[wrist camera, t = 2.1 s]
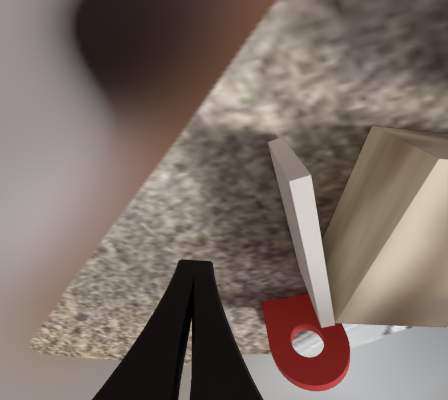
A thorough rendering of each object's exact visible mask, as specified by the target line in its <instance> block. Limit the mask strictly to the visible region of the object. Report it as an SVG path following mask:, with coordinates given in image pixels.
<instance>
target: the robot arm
mask: <svg viewBox="0 0 448 400" xmlns="http://www.w3.org/2000/svg"><path fill="white" fill-rule="evenodd" d="M191 319H192V379H191V392H190V400H263V398H262V396H261V394H260V393H259V391H258V389H257V387H256V385H255V383H254V381H253V379H252V377H251V375H250V373H249V371H248V368H247V366H246V364H245V362H244V360H243V358H242V355H241V353H240V351H239V349H238V346H237V344H236V341H235V339H234V337H233V334H232V331H231V329H230V326H229V324H228V321H227V318H226V315H225V312H224V309H223V306H222V303H221V300H220V296H219V293H218V289H217V285H216V281H215V276H214V270H213V263H212V262H211V261H197V260H180V261H179V262H178V265H177V268H176V270H175V273H174V275H173V277H172V279H171V282H170V284H169V286H168V288H167V290H166V292H165V293H164V295H163V297H162V299H161V301H160V303H159V304H158V306H157V308H156V310H155V311H154V313H153V315H152V316H151V318H150V319H149V321H148V323H147V324H146V326H145V328H144V329H143V331H142V332H141V334H140V335H139V337H138V338H137V340H136V341H135V343H134V344H133V346H132V347H131V349H130V350H129V351H128V353H127V354H126V356H125V357H124V359H123V360H122V361H121V363H120V364H119V365H118V367H117V368H116V369H115V371H114V372H113V373H112V375H111V376H110V377H109V379H108V380H107V381H106V383H105V384H104V385H103V386H102V388H101V389H100V390H99V392H98V393H97V394H96V395H95V397H94V398H93V399H92V400H178V397H179V389H180V381H181V375H182V370H183V364H184V358H185V353H186V347H187V342H188V336H189V330H190V325H191Z"/></svg>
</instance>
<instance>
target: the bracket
mask: <svg viewBox="0 0 448 400" xmlns="http://www.w3.org/2000/svg"><path fill="white" fill-rule="evenodd" d="M262 306H263V311H264V317H265V323H266V329H267V334H268V340H269V346H270V350H271V353H272V356H273V359H274V361H275V363H276V365H277V367H278V369H279V370H280V372H281V373H282V374H283V375H284V377H286V378H287V379H288V380H289V381H290V382H291V383H293V384H294V385H296V386H298V387H300V388H302V389H306V390H310V391H324V390H328V389H330V388H333V387H334V386H336V385H337V384H339V383H340V382H341V381H342V379H343V378H344V377H345V375H346V373H347V371H348V368H349V363H350V346H349V341H348V337H347V335H346V332H345V330H344V328H343V326H342V323H335V325H334V326H329V327H324V328H321V325H320V323H319V320H318V317H317V315H316V312H315V309H314V307H313V304H312V301H311V299H310V296H309V293H307V294H302V295H297V296H292V297H287V298H282V299H277V300H271V301H266V302H262ZM302 330H310V331H313V332H315V333H317V334H318V335H319V336H320V337H321V338H322V340H323V342H324V348H323V350H322V352H321V353H320V354H319V355H318V356H316V357H312V358H308V357H304V356H301V355H300V354H298V353H297V352H296V351H295V350H294V348H293V347H292V340H293V337H294V336H295V334H296V333H298V332H299V331H302Z"/></svg>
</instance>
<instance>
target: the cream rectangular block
mask: <svg viewBox="0 0 448 400" xmlns="http://www.w3.org/2000/svg"><path fill="white" fill-rule="evenodd" d="M322 246H323V252H324V259H325V265H326V271H327V277H328V283H329V290H330V296H331V302H332V308H333V315H334V321H335V323H346V324H371V325H397V326H423V327H447V326H448V134H445V133H435V132H426V131H416V130H406V129H397V128H387V127H378V126H372V127H371V129H370V131H369V133H368V136H367V138H366V140H365V143H364V145H363V147H362V150H361V152H360V154H359V157H358V159H357V161H356V163H355V166H354V168H353V170H352V173H351V175H350V177H349V180H348V182H347V184H346V186H345V189H344V191H343V193H342V196H341V198H340V200H339V203H338V205H337V207H336V209H335V212H334V214H333V216H332V219H331V221H330V223H329V226H328V228H327V230H326V232H325V235H324V237H323V239H322Z"/></svg>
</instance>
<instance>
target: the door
mask: <svg viewBox="0 0 448 400" xmlns="http://www.w3.org/2000/svg"><path fill="white" fill-rule="evenodd" d="M268 146H269V150H270V154H271V158H272V161H273V165H274V169H275V173H276V177H277V181H278V185H279V189H280V193H281V197H282V201H283V205H284V209H285V213H286V217H287V221H288V225H289V229H290V233H291V237H292V241H293V245H294V249H295V253H296V257H297V261H298V265H299V269H300V272H301V274H302V277H303V280H304V283H305V285H306V288H307V291H308V293H309V296H310V299H311V301H312V304H313V307H314V309H315V312H316V315H317V317H318V320H319V323H320V325H321V328H324V327H329V326H334V325H335V321H334V315H333V308H332V302H331V296H330V290H329V283H328V277H327V271H326V265H325V259H324V252H323V246H322V240H321V234H320V227H319V221H318V215H317V209H316V202H315V196H314V190H313V184H312V178H311V174H310V173H309V171H308V170H307V169H306V167H305V166H304V165H303V163H302V162H301V161H300V159H299V158H298V157H297V155H296V154H295V153H294V151H293V150H292V149H291V147H290V146H289V145H288V143H287V142H286V141H285V139H284V138H283V137H281V138H278V139H275V140H272V141H269V142H268Z"/></svg>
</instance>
